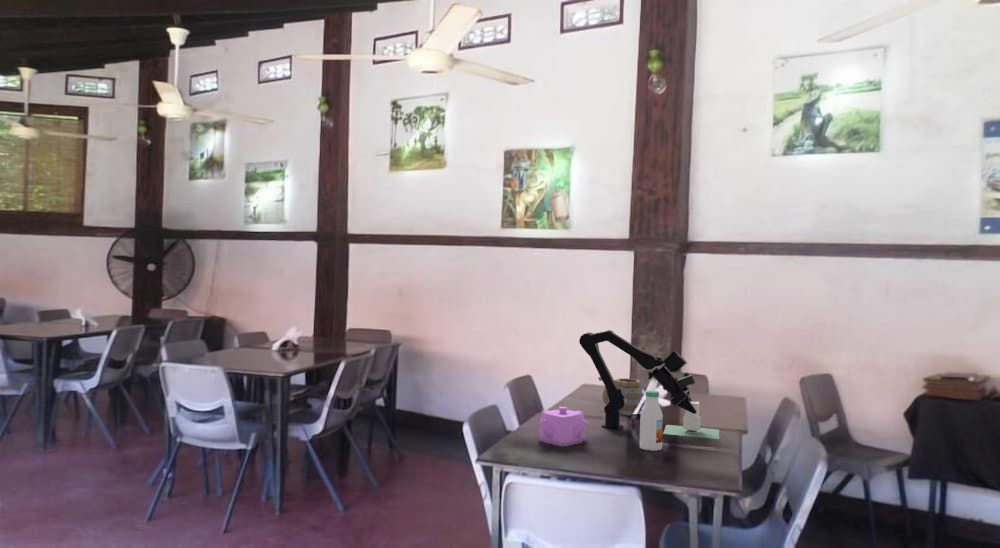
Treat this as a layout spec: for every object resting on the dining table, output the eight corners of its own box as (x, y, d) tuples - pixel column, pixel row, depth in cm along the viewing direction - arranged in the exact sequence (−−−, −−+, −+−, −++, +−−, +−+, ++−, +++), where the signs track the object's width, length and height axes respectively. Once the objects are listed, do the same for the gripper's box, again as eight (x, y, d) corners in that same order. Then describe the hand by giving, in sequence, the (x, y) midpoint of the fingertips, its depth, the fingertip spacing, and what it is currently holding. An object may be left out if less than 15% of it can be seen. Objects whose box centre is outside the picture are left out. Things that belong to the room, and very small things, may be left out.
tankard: (646, 411, 304) (647, 377, 303) (635, 416, 293) (636, 381, 293) (604, 405, 314) (605, 372, 314) (592, 410, 304) (593, 376, 303)
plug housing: (683, 429, 262) (683, 402, 262) (683, 426, 266) (684, 400, 266) (699, 430, 260) (700, 404, 260) (699, 428, 264) (700, 402, 264)
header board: (662, 436, 259) (663, 427, 259) (666, 427, 274) (666, 418, 274) (719, 442, 252) (719, 432, 252) (719, 432, 268) (719, 423, 268)
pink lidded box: (582, 436, 257) (583, 403, 257) (588, 448, 240) (589, 412, 240) (536, 435, 257) (537, 402, 256) (539, 447, 240) (540, 411, 239)
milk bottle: (649, 452, 236) (650, 394, 236) (634, 446, 243) (636, 390, 243) (666, 450, 240) (668, 392, 240) (652, 444, 247) (653, 388, 246)
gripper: (681, 370, 255) (711, 402, 252) (684, 363, 273) (712, 394, 270) (658, 389, 258) (688, 422, 254) (663, 382, 275) (690, 412, 272)
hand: (695, 411), depth 263 cm, fingers closed on plug housing, 5 cm apart
